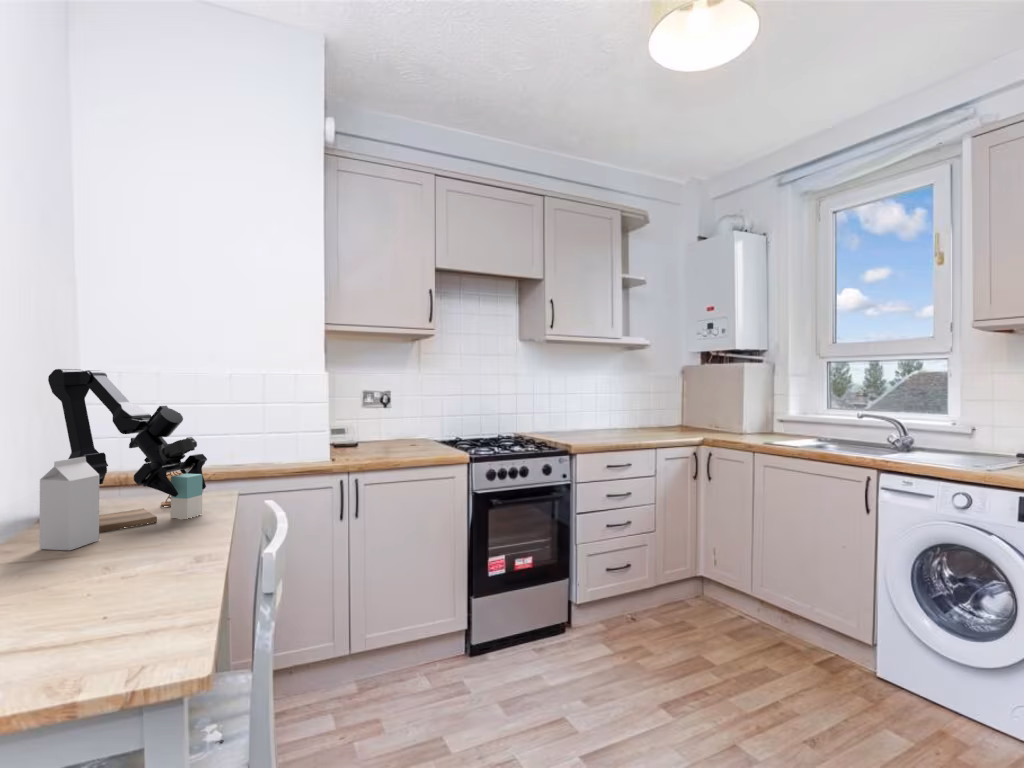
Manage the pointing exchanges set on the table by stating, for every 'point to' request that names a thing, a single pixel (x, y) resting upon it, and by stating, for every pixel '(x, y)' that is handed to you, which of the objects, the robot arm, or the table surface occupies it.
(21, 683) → the table surface
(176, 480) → the block
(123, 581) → the table surface
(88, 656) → the table surface
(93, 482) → the milk carton
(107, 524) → the board
